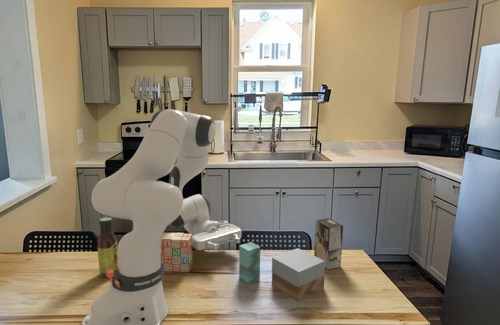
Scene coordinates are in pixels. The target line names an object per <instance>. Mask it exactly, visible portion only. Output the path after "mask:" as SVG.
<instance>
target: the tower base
mask: <svg viewBox="0 0 500 325" xmlns="http://www.w3.org/2000/svg"><path fill="white" fill-rule="evenodd" d="M271 285H272V286H274V287H275V288H276V289H278V290H279V291H281V292H283V293H284V294H286V295H287V296H289V297H290V298H292V299H294V300H296V301H297V302H300V301H302V300H304V299H305V298H307V297H309V296H311V295H314V294H316V293H317V292H320V291H322V290H323V289H325V274H324V276H322V277H320V278H317V279H315V280H313V281H311V282H309V283H307V284H305V285H302V286H300V287H297V286H295V285H293V284H292V283H290V282H288V281H287V280H285V279H283V278H282V277H280V276H278V275H276V274H275V273H273V272H272V271H271Z"/></svg>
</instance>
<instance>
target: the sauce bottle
mask: <svg viewBox="0 0 500 325" xmlns="http://www.w3.org/2000/svg"><path fill="white" fill-rule="evenodd" d="M98 223H99V226H100V227H99V229H100V231H99V232H100V233H99V235H98V238H97V240H96V241H97V242H96V243H97V256H98V266H99V267H98V271H99V275H100V277H102V278H108V277H107V276H106V273H107V271H108V270H113V271H114V273H116V272H117V270H118V268H119V262H118V239H117V237H116V235H115V233H114V230H113V217H110V216H107V217H102V218H100V219H99V220H98Z"/></svg>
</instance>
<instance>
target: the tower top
mask: <svg viewBox="0 0 500 325" xmlns="http://www.w3.org/2000/svg"><path fill="white" fill-rule="evenodd" d="M325 270H326V268H325V261H324V260H322V259H320V258H318V257H316V256H314V254H311V253H309V252H307V251H305V250H303V249H301V248H298V247H297V248H294V249H292V250H289V251H286V252H283V253H280V254H278V255H275V256H273V257H272V258H271V273H272V272H273V273H275V274H276V275H278V276H280V277H282V278H283V279H285V280H287V281H288V282H290V283H292V284H293V285H295V286H297V287H300V286H302V285H305V284H307V283H309V282H311V281H313V280H315V279H317V278H320V277H322V276H324V275H325ZM324 277H325V276H324Z"/></svg>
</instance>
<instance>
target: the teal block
mask: <svg viewBox="0 0 500 325" xmlns="http://www.w3.org/2000/svg"><path fill="white" fill-rule="evenodd" d="M238 248H239V249H238V250H239V251H238V252H239V257H238V258H239V260H238V261H239V262H238V264H239V265H238V270H239V271H238V273H239V274H238V276H239V277H238V278H239V280H240V281H242V282H243V283H245V284H246V285H247V286H248V285H252V284H254V283H256V282H258V281H260V278H261V277H260V276H261V246H260V245H257V244H256V243H254V242H252V241H250V242H247V243H244V244H239V247H238Z"/></svg>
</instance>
